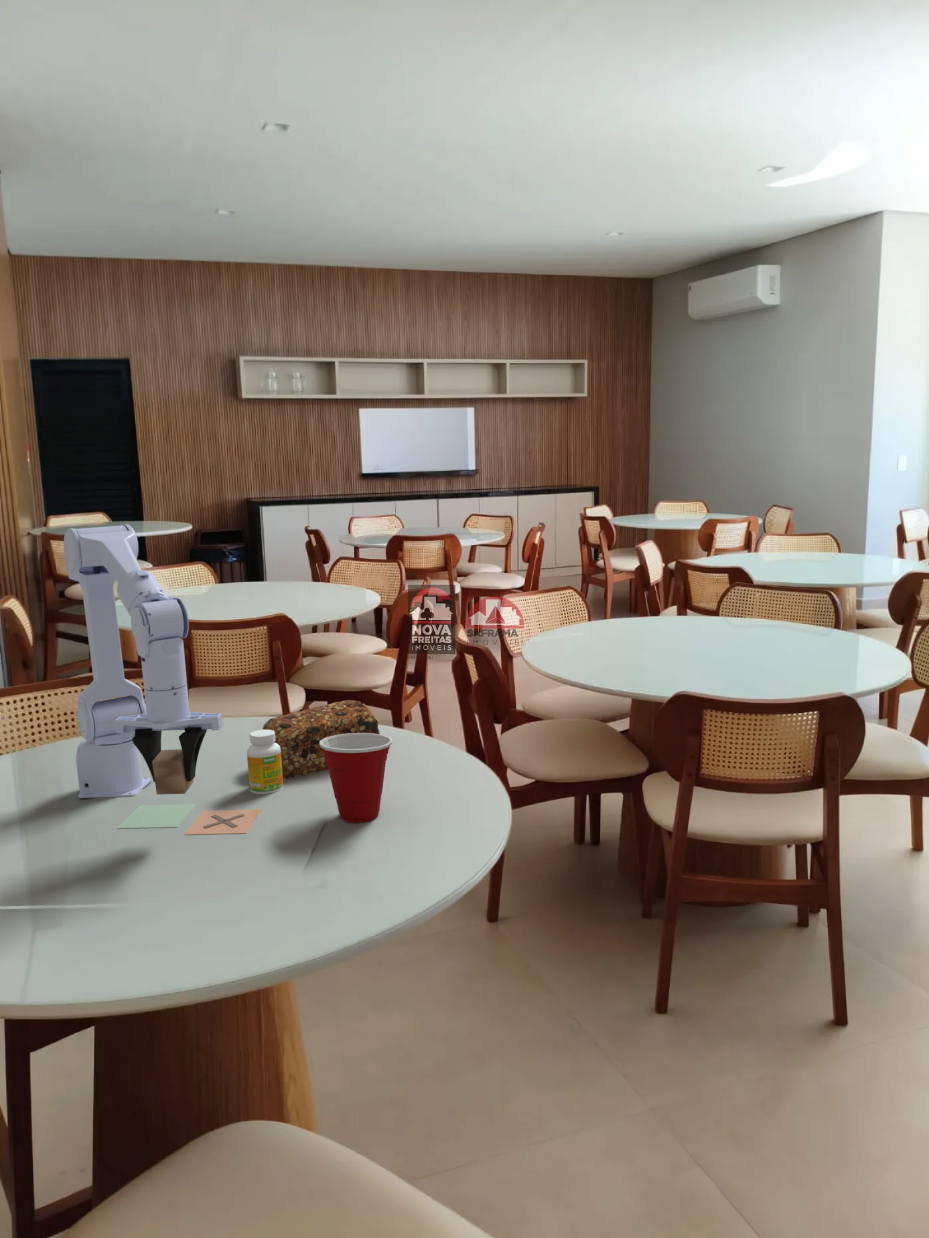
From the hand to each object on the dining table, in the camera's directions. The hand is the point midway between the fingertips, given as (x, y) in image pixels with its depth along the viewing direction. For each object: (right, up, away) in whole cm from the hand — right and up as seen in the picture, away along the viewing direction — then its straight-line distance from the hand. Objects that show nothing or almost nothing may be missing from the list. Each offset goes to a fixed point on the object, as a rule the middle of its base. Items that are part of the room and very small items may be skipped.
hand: (174, 779), depth 129 cm
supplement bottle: (+9, -5, +20) cm, 23 cm away
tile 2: (+5, -8, +6) cm, 11 cm away
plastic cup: (+25, -7, +8) cm, 28 cm away
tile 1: (-5, -8, +10) cm, 13 cm away
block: (0, -1, 0) cm, 1 cm away
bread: (+16, -3, +33) cm, 37 cm away
